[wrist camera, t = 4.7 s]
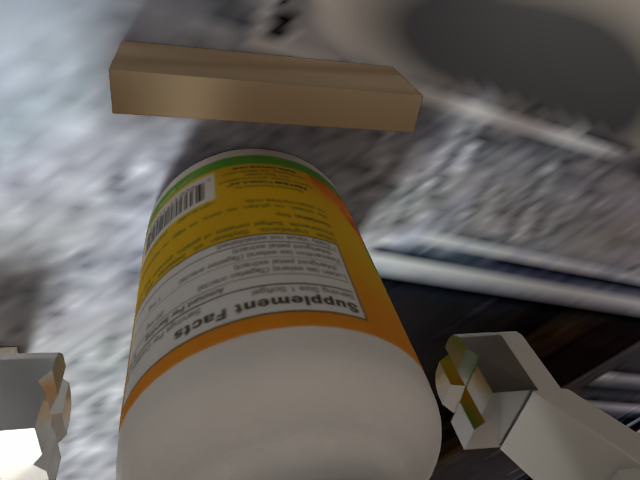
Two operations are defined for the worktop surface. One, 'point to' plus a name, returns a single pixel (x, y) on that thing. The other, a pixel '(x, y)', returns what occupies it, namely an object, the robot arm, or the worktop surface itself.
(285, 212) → the supplement bottle
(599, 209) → the worktop surface
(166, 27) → the worktop surface
